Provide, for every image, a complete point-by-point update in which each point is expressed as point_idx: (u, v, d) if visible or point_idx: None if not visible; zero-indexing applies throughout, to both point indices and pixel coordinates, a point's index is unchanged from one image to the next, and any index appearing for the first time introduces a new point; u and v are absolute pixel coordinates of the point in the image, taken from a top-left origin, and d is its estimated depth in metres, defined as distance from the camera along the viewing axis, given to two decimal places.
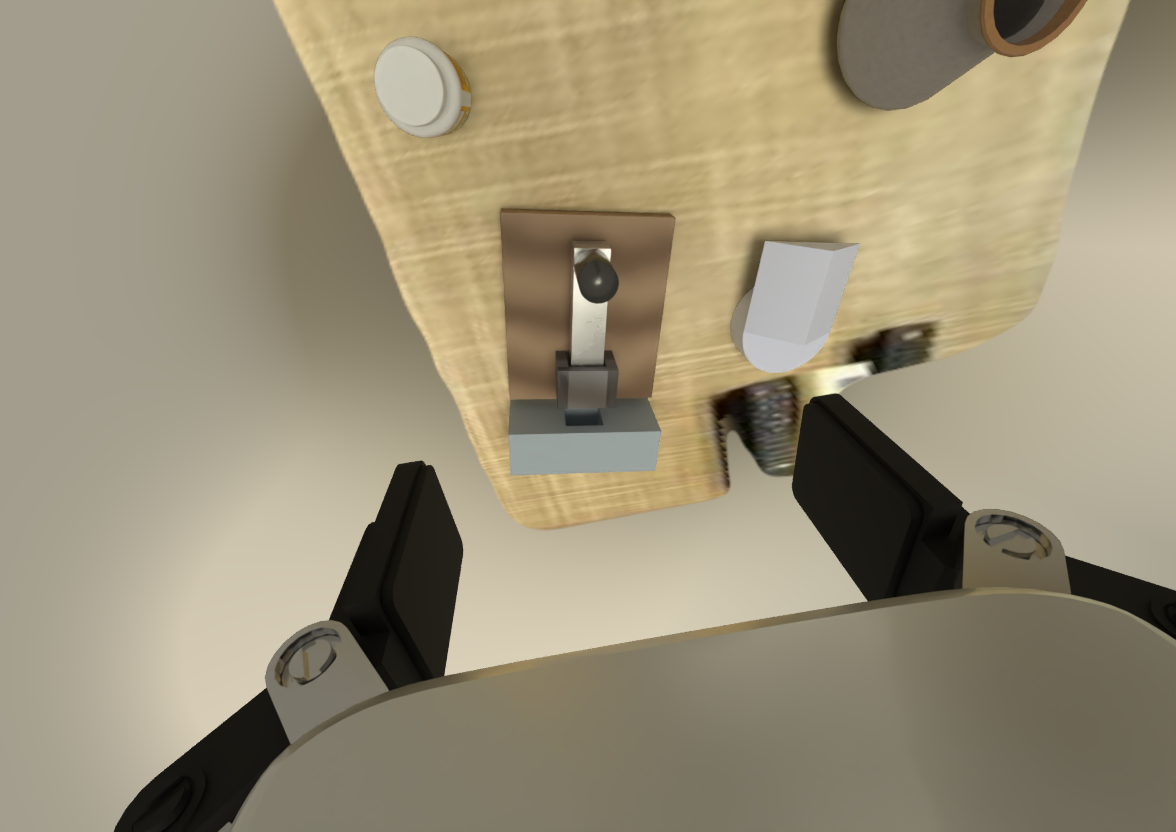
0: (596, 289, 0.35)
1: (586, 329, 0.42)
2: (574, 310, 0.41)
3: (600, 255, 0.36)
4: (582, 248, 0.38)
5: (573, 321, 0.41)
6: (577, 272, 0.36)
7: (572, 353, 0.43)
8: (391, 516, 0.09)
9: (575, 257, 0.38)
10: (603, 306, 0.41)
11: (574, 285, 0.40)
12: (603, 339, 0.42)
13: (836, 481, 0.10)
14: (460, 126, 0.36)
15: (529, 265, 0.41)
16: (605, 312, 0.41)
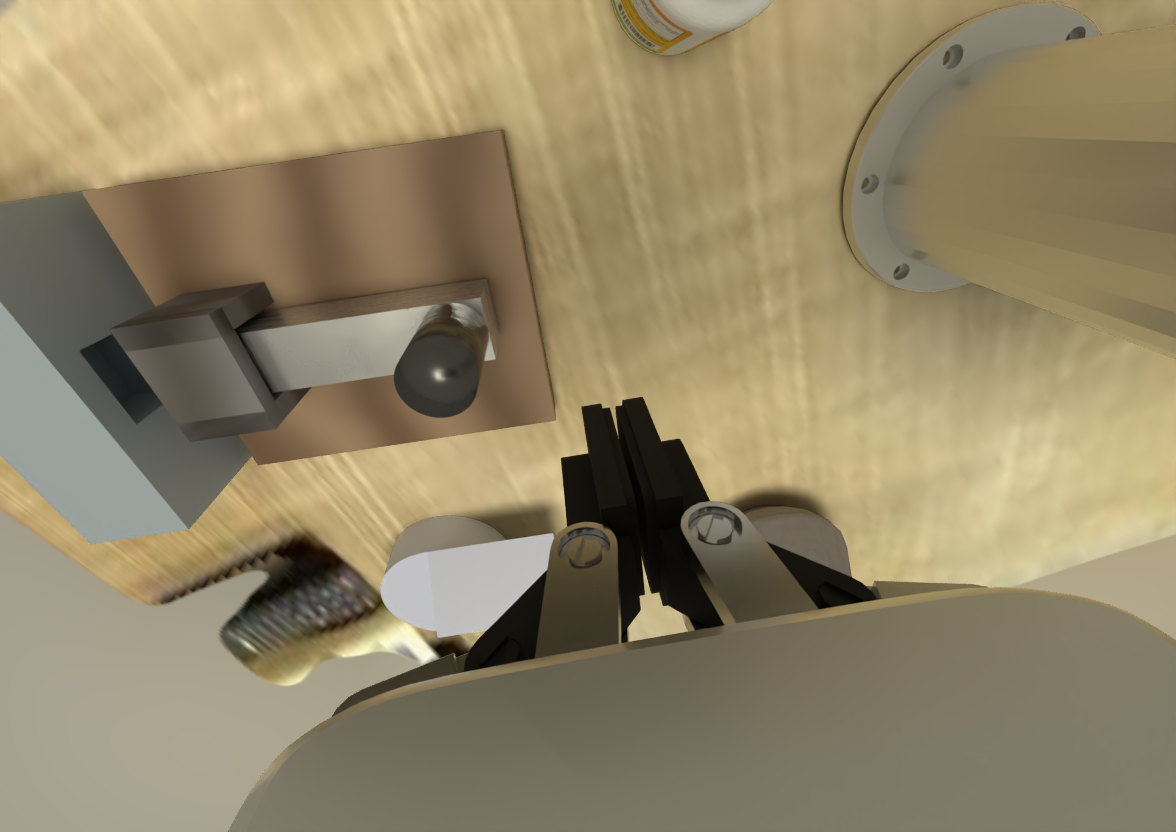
0: (424, 382, 0.17)
1: (333, 347, 0.21)
2: (362, 318, 0.21)
3: (484, 356, 0.20)
4: (483, 311, 0.21)
5: (339, 320, 0.20)
6: (442, 326, 0.18)
7: (269, 330, 0.20)
8: (602, 444, 0.10)
9: (464, 302, 0.21)
10: (391, 368, 0.22)
11: (411, 309, 0.21)
12: (327, 381, 0.22)
13: (629, 477, 0.11)
14: (630, 32, 0.19)
15: (418, 203, 0.21)
16: (381, 374, 0.22)
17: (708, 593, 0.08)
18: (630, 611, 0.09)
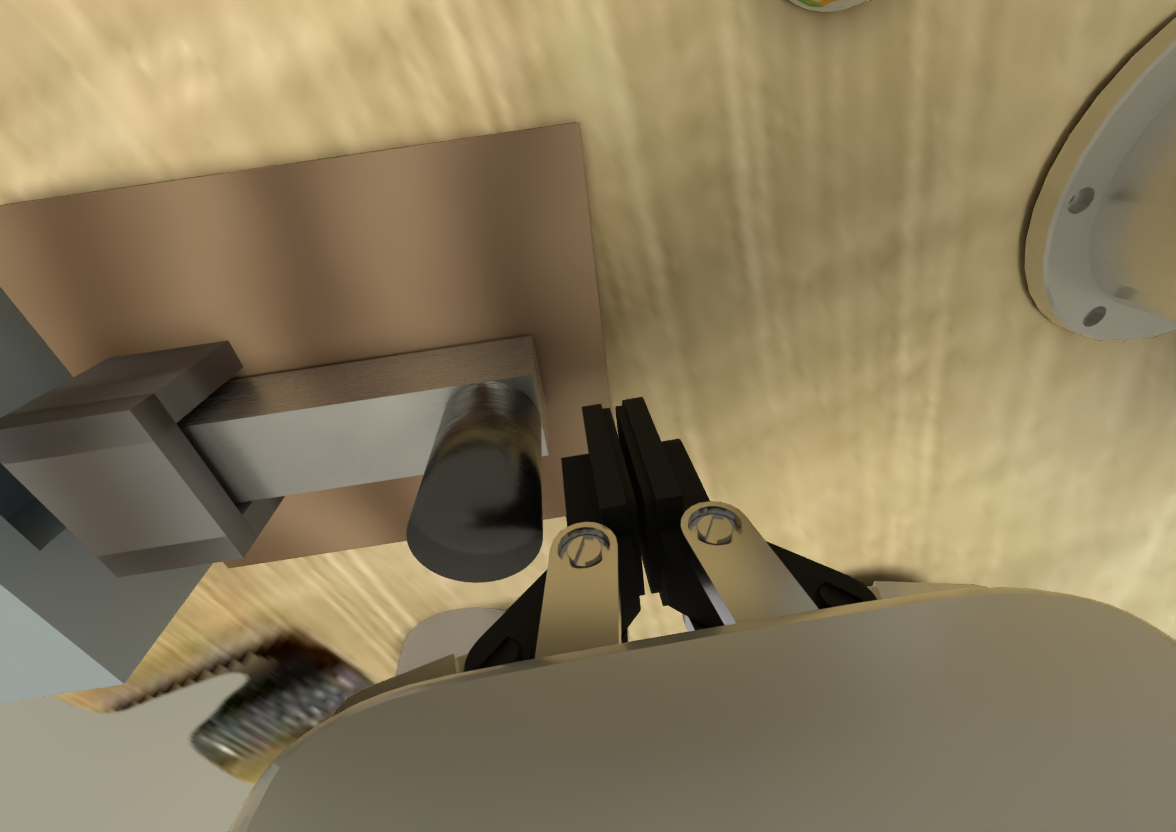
0: (456, 536, 0.10)
1: (313, 445, 0.14)
2: (356, 405, 0.14)
3: None
4: (534, 392, 0.14)
5: (321, 409, 0.14)
6: (483, 437, 0.11)
7: (216, 424, 0.14)
8: (602, 444, 0.10)
9: (507, 381, 0.14)
10: (398, 469, 0.15)
11: (429, 392, 0.14)
12: (305, 489, 0.15)
13: (629, 477, 0.11)
14: None
15: (451, 230, 0.14)
16: (383, 477, 0.15)
17: (708, 593, 0.08)
18: (630, 611, 0.09)
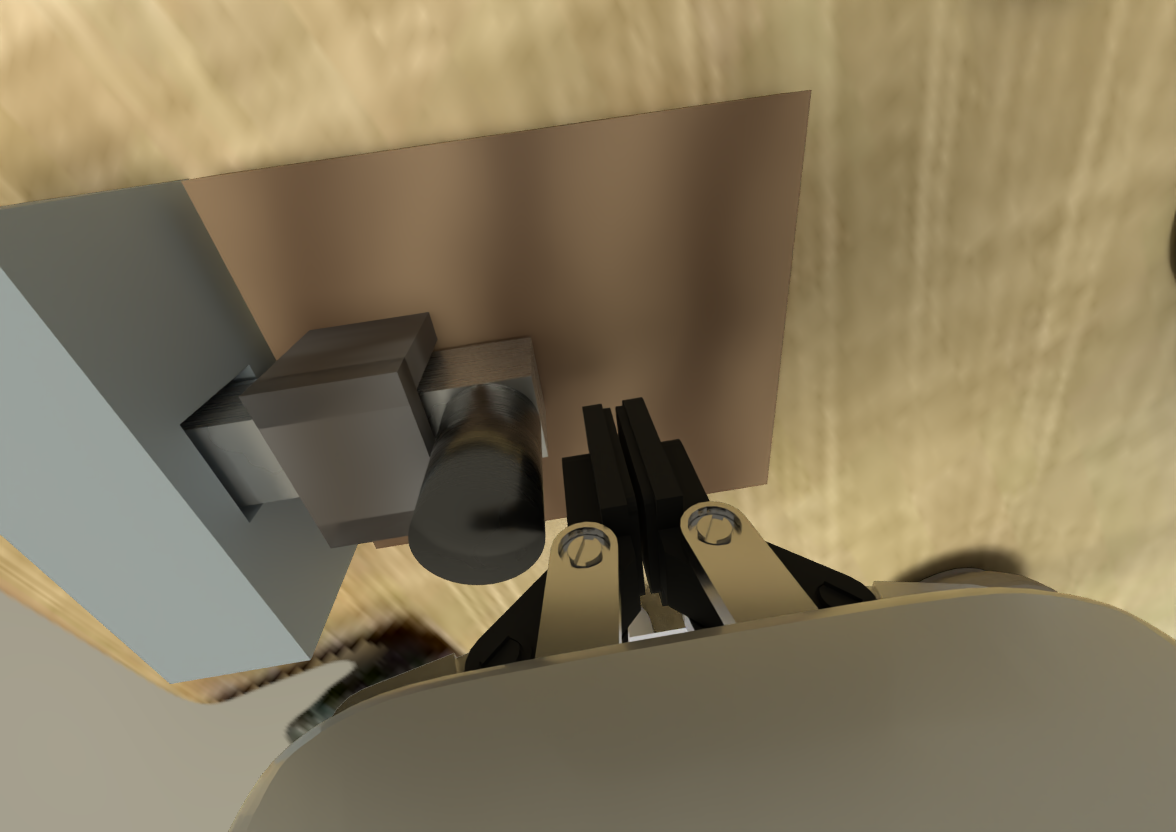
0: (458, 539, 0.10)
1: None
2: None
3: None
4: (534, 393, 0.14)
5: None
6: (484, 439, 0.11)
7: (212, 428, 0.14)
8: (602, 444, 0.10)
9: (507, 383, 0.14)
10: None
11: (428, 394, 0.14)
12: None
13: (629, 477, 0.11)
14: None
15: (667, 199, 0.15)
16: None
17: (708, 593, 0.08)
18: (630, 611, 0.09)
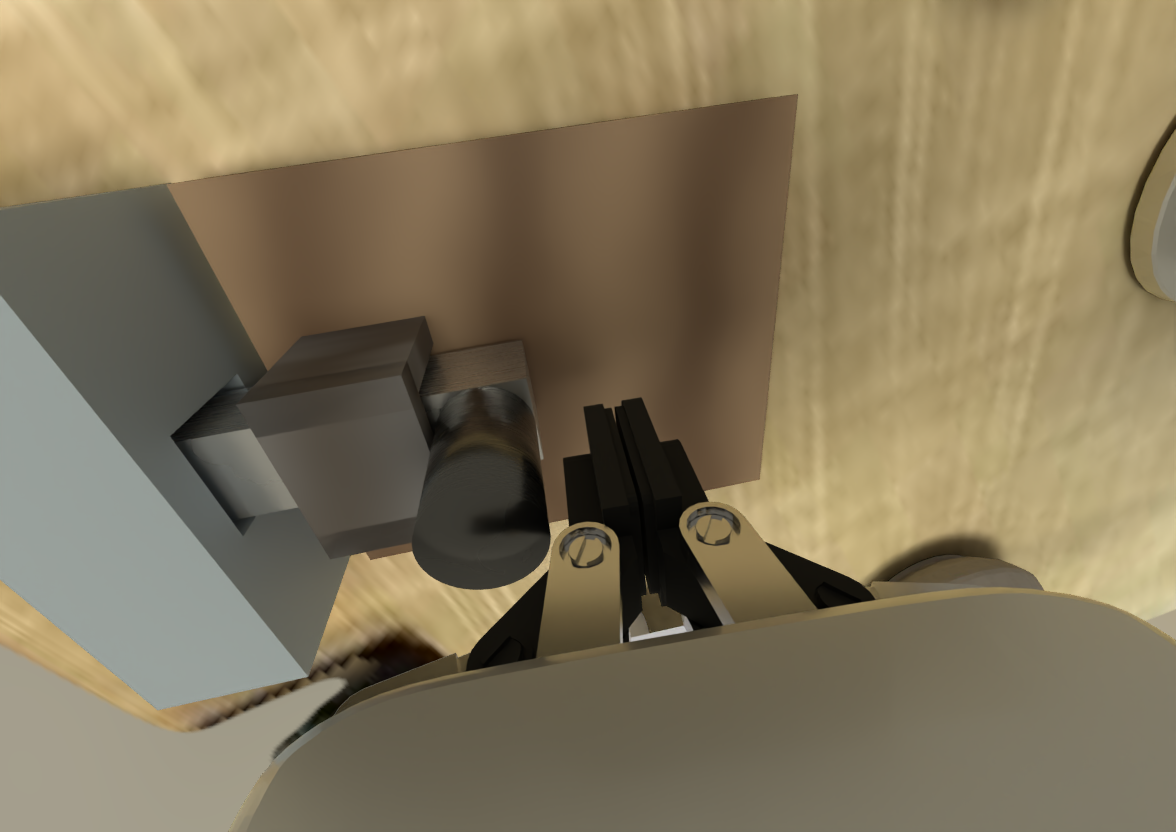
0: (463, 543, 0.10)
1: None
2: None
3: None
4: (529, 396, 0.14)
5: None
6: (484, 441, 0.11)
7: (195, 440, 0.13)
8: (604, 444, 0.10)
9: (502, 385, 0.14)
10: None
11: (422, 399, 0.13)
12: (292, 505, 0.15)
13: None
14: None
15: (661, 200, 0.15)
16: None
17: (707, 593, 0.08)
18: (632, 611, 0.09)
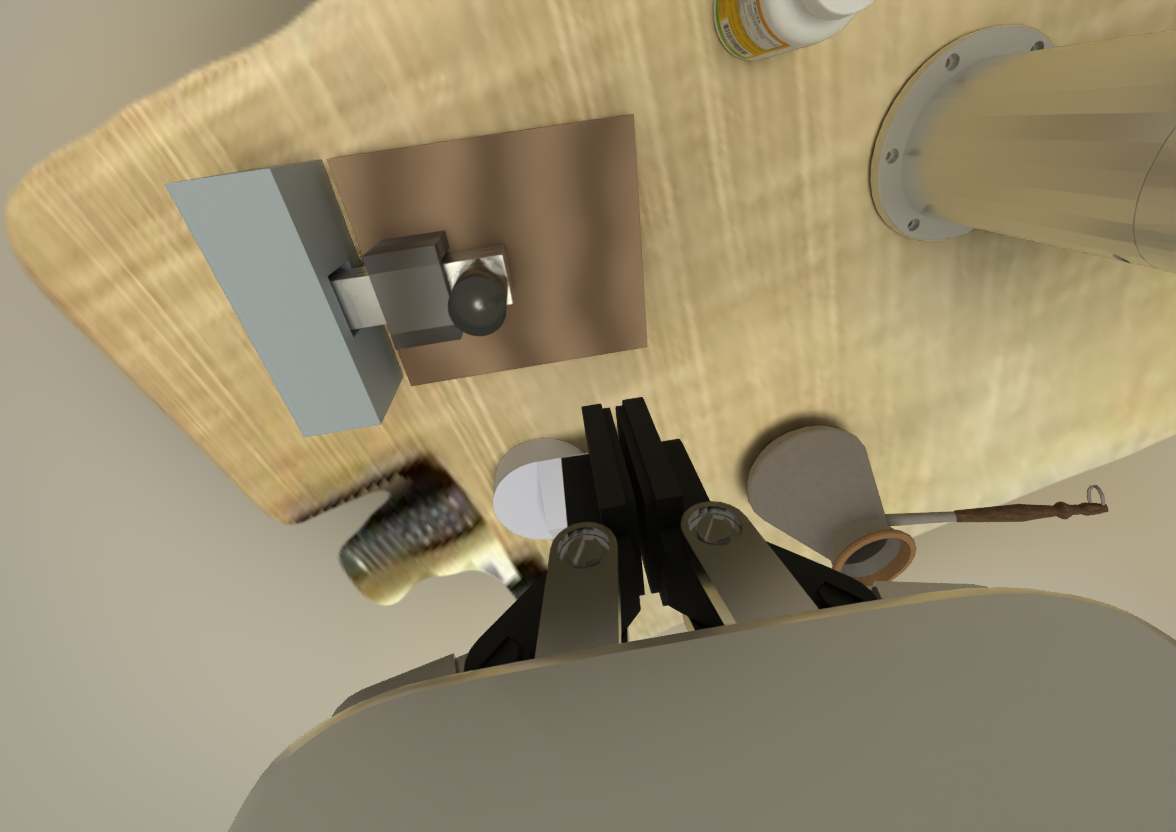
0: (469, 308, 0.24)
1: None
2: None
3: (507, 296, 0.27)
4: (504, 265, 0.28)
5: None
6: (479, 271, 0.25)
7: (344, 280, 0.27)
8: (602, 444, 0.10)
9: (490, 258, 0.28)
10: None
11: (451, 264, 0.28)
12: (385, 322, 0.29)
13: (629, 477, 0.11)
14: (729, 43, 0.27)
15: (567, 169, 0.29)
16: None
17: (708, 593, 0.08)
18: (630, 611, 0.09)
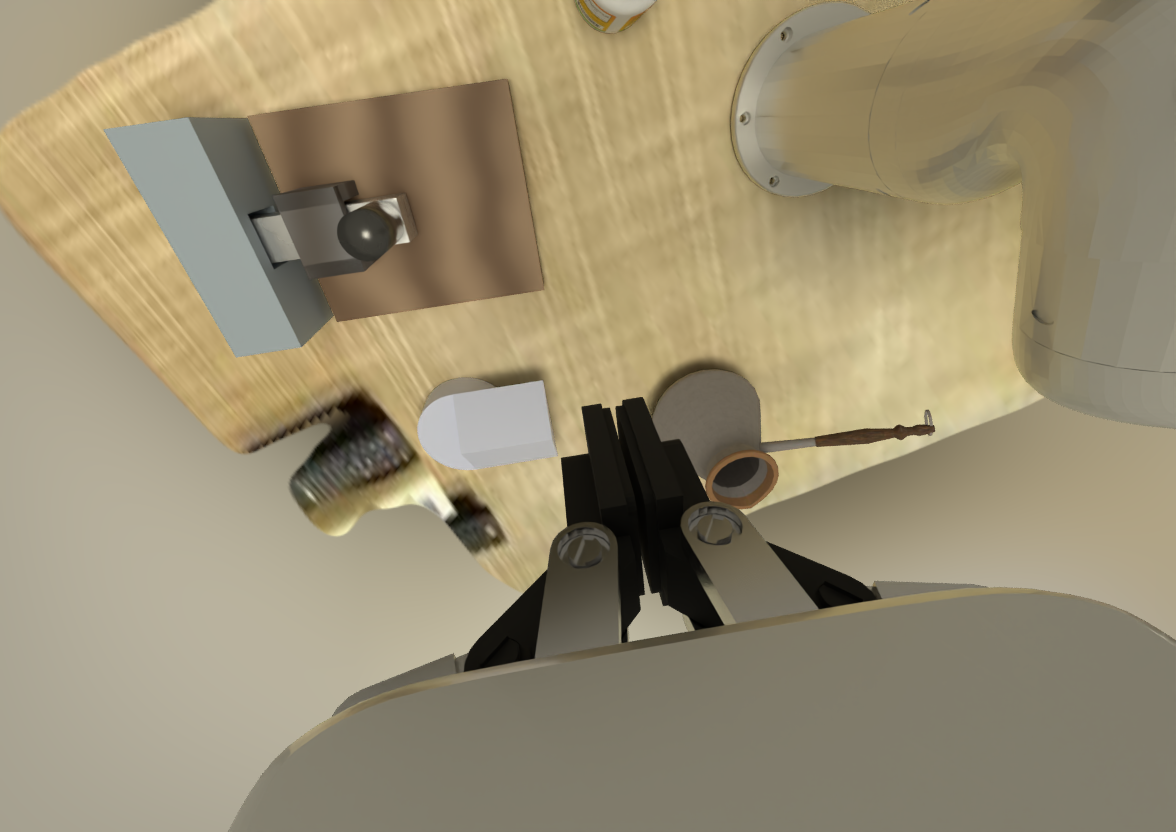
0: (355, 235, 0.29)
1: None
2: None
3: (397, 231, 0.32)
4: (399, 207, 0.33)
5: None
6: (367, 207, 0.30)
7: (263, 219, 0.33)
8: (602, 444, 0.10)
9: (386, 201, 0.33)
10: None
11: (353, 205, 0.33)
12: None
13: (629, 477, 0.11)
14: (585, 18, 0.32)
15: (455, 126, 0.34)
16: None
17: (708, 593, 0.08)
18: (630, 611, 0.09)
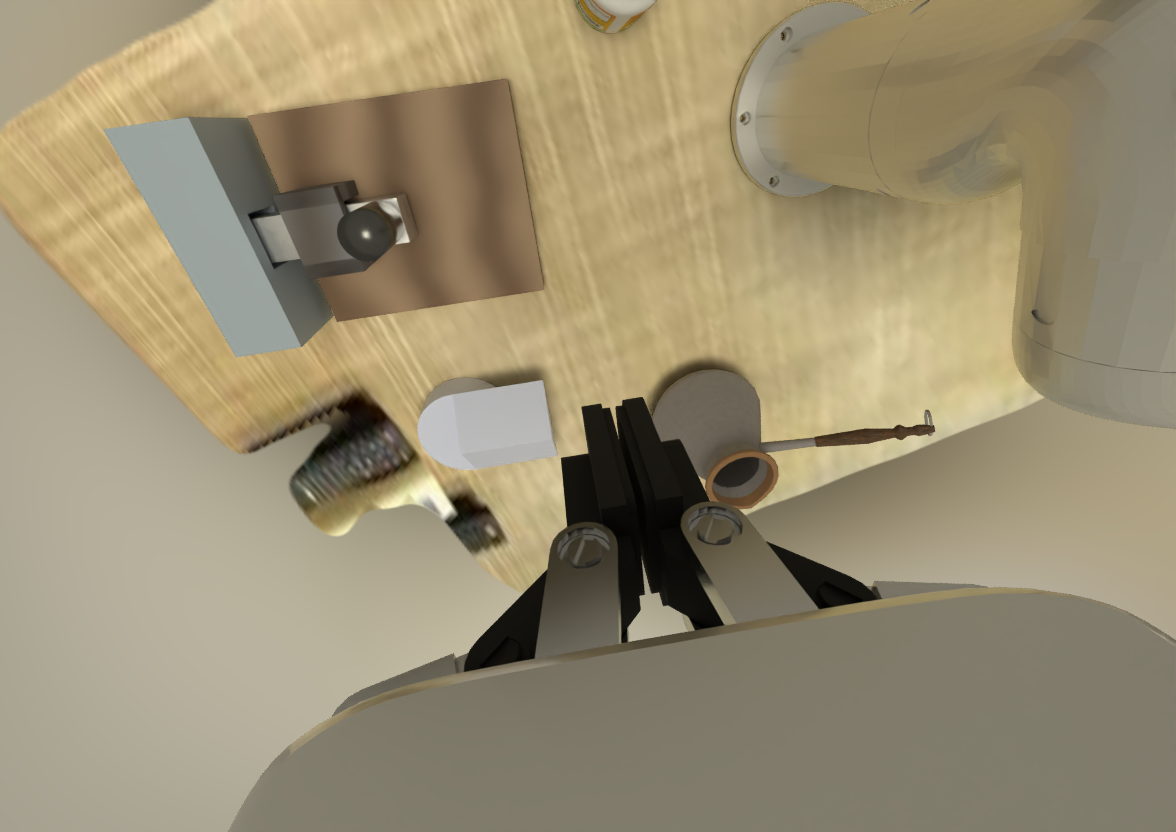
0: (355, 235, 0.29)
1: None
2: None
3: (397, 231, 0.32)
4: (399, 207, 0.33)
5: None
6: (367, 207, 0.30)
7: (263, 218, 0.33)
8: (602, 444, 0.10)
9: (386, 200, 0.33)
10: None
11: (353, 205, 0.33)
12: None
13: (629, 477, 0.11)
14: (585, 18, 0.32)
15: (455, 126, 0.34)
16: None
17: (708, 593, 0.08)
18: (630, 611, 0.09)
